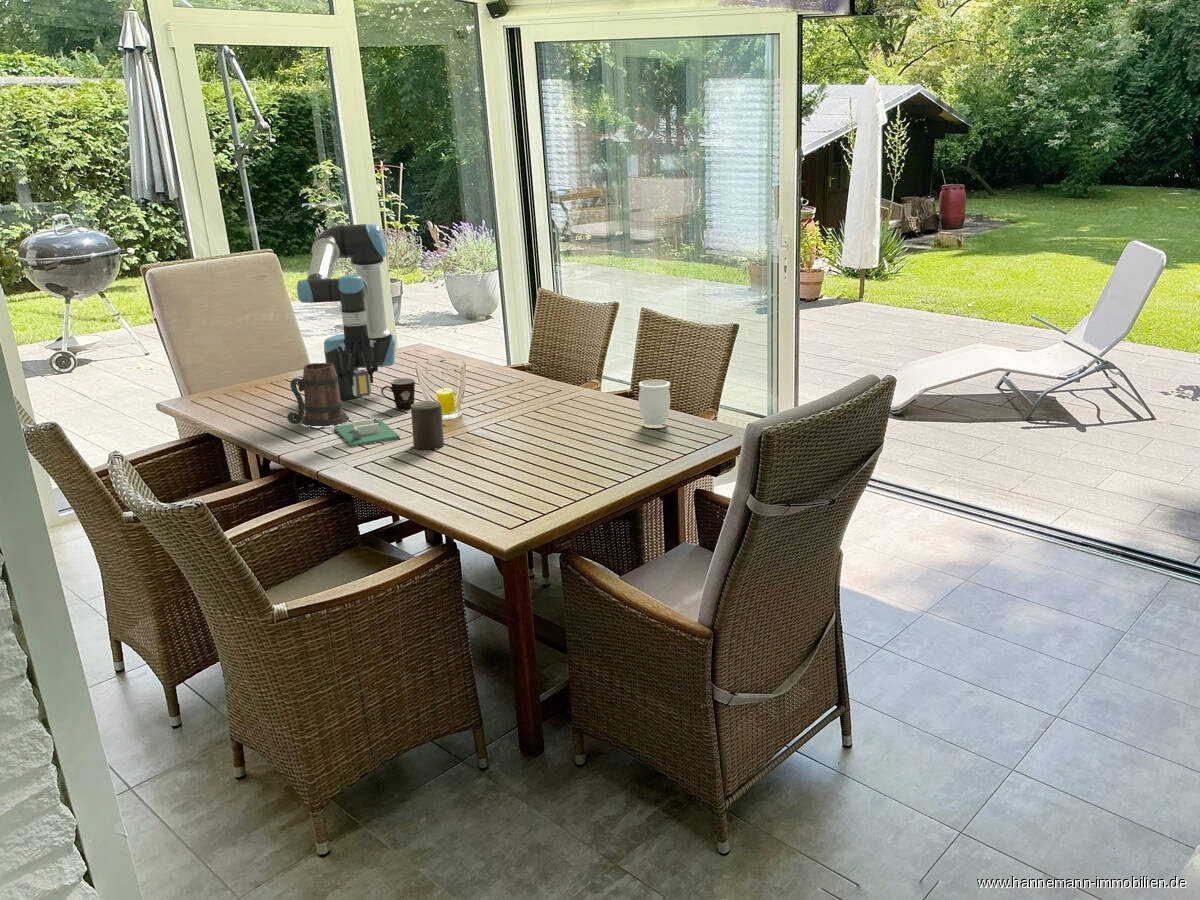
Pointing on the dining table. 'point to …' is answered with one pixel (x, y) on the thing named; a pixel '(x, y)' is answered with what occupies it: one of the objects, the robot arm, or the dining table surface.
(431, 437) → the pillar candle
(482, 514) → the dining table surface
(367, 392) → the plug
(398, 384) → the coffee mug
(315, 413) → the tankard
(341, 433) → the board
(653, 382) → the jar
